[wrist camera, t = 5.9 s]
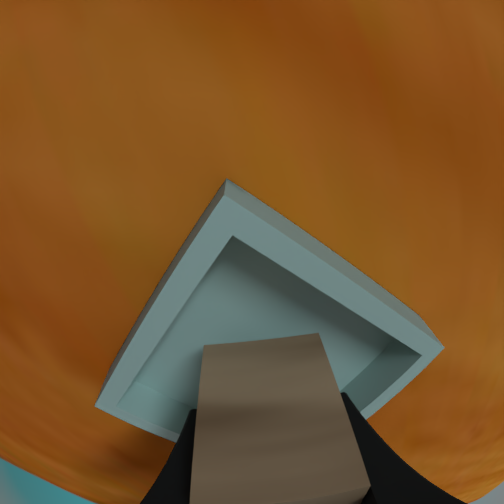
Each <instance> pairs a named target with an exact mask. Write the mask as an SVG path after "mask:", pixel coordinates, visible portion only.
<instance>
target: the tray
mask: <svg viewBox="0 0 504 504" xmlns="http://www.w3.org/2000/svg"><path fill="white" fill-rule="evenodd" d="M313 333H319V335H320V338H321V341H322V343H323V346H324V349H325V352H326V354H327V357H328V360H329V363H330V366H331V368H332V371H333V374H334V377H335V380H336V383H337V385H338V388H339V391H340V393H342V392H345V393H347V395H348V396H349V398H350V399H351V401H352V402H353V403H354V405H355V406H356V408H357V409H358V410H359V412H360V413H361V414H362V416H363V417H364V418H365V419H367V418H369V417H370V416H371V415H372V414H374V413H375V412H376V411H377V410H378V409H380V408H381V407H382V406H383V405H384V404H386V403H387V402H388V401H389V400H390V399H391V398H393V397H394V396H395V395H396V394H397V393H398V392H399V391H401V390H402V389H403V388H404V387H405V386H406V385H407V384H408V383H409V382H410V381H411V380H413V379H414V378H415V377H416V376H417V375H418V374H419V373H420V372H421V371H422V370H423V369H424V368H425V367H426V366H427V365H428V364H429V363H430V362H431V361H432V360H433V359H434V358H435V357H436V356H437V355H438V354H439V353H440V352H441V351H442V350H443V349H444V346H443V345H442V344H441V343H440V341H439V340H438V339H437V337H436V336H435V335H434V334H433V332H432V331H431V330H430V328H429V327H428V326H427V325H426V323H425V322H424V321H423V320H422V319H421V317H420V316H419V315H418V314H416V313H415V312H414V311H413V310H411V309H410V308H409V307H407V306H406V305H405V304H404V303H402V302H401V301H400V300H398V299H397V298H396V297H394V296H393V295H392V294H390V293H389V292H388V291H386V290H385V289H384V288H382V287H381V286H380V285H378V284H377V283H376V282H374V281H373V280H372V279H370V278H369V277H368V276H366V275H365V274H364V273H362V272H361V271H360V270H358V269H357V268H356V267H354V266H353V265H351V264H350V263H349V262H347V261H346V260H345V259H343V258H342V257H340V256H339V255H338V254H336V253H335V252H333V251H332V250H331V249H329V248H328V247H326V246H325V245H324V244H322V243H321V242H319V241H318V240H317V239H315V238H314V237H312V236H311V235H309V234H308V233H307V232H305V231H304V230H302V229H301V228H299V227H298V226H297V225H295V224H294V223H292V222H291V221H289V220H288V219H286V218H285V217H284V216H282V215H281V214H279V213H278V212H276V211H275V210H273V209H272V208H270V207H269V206H267V205H266V204H264V203H263V202H261V201H260V200H258V199H257V198H256V197H254V196H253V195H251V194H250V193H248V192H247V191H245V190H243V189H242V188H240V187H239V186H237V185H236V184H234V183H233V182H231V181H230V180H228V179H226V180H225V181H224V183H223V184H222V186H221V187H220V189H219V190H218V192H217V193H216V195H215V196H214V198H213V199H212V201H211V202H210V204H209V205H208V207H207V208H206V210H205V211H204V213H203V214H202V216H201V217H200V219H199V220H198V222H197V223H196V225H195V226H194V228H193V229H192V231H191V232H190V234H189V236H188V237H187V239H186V240H185V242H184V243H183V245H182V246H181V248H180V250H179V251H178V253H177V254H176V256H175V258H174V259H173V261H172V262H171V264H170V266H169V267H168V269H167V270H166V272H165V274H164V275H163V277H162V279H161V280H160V282H159V283H158V285H157V287H156V288H155V290H154V292H153V293H152V295H151V297H150V298H149V300H148V302H147V303H146V305H145V307H144V309H143V310H142V312H141V314H140V315H139V317H138V319H137V321H136V322H135V324H134V326H133V327H132V329H131V331H130V333H129V334H128V336H127V338H126V340H125V342H124V343H123V345H122V347H121V349H120V350H119V352H118V354H117V356H116V358H115V360H114V361H113V363H112V365H111V367H110V369H109V371H108V373H107V376H106V378H105V381H104V383H103V386H102V388H101V391H100V393H99V396H98V398H97V401H96V404H95V407H97V408H99V409H101V410H103V411H105V412H107V413H109V414H111V415H113V416H115V417H117V418H119V419H121V420H124V421H126V422H128V423H130V424H132V425H134V426H137V427H139V428H141V429H144V430H146V431H148V432H151V433H153V434H155V435H158V436H160V437H163V438H165V439H168V440H171V441H173V442H177V440H178V438H179V436H180V433H181V431H182V429H183V426H184V424H185V421H186V419H187V416H188V413H189V411H190V410H191V409H197V404H198V394H199V384H200V375H201V365H202V356H203V347H204V345H212V344H224V343H235V342H246V341H256V340H265V339H274V338H282V337H290V336H298V335H306V334H313Z"/></svg>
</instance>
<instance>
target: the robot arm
mask: <svg viewBox="0 0 504 504" xmlns="http://www.w3.org/2000/svg"><path fill="white" fill-rule="evenodd" d="M340 394H341V397H342V400H343V403H344V406H345V408H346V411H347V414H348V417H349V420H350V423H351V426H352V429H353V432H354V435H355V438H356V441H357V444H358V447H359V450H360V453H361V456H362V459H363V463H364V466H365V469H366V472H367V475H368V478H369V481H370V485H371V486H370V488H369V489H368V491H367V493H366V495H365V497H364V498H363V500H362V502H361V504H467V503H465V502H463V501H461V500H459V499H457V498H455V497H453V496H451V495H450V494H448V493H447V492H445V491H443V490H442V489H440V488H439V487H437V486H436V485H434V484H432V483H431V482H429V481H428V480H427V479H425V478H424V477H423V476H421V475H420V474H419V473H418V472H416V471H415V470H414V469H413V468H412V467H410V466H409V465H408V464H407V463H406V462H405V461H403V460H402V459H401V458H400V457H399V456H398V455H397V454H396V453H395V452H394V451H393V450H392V449H391V448H390V447H389V446H388V445H387V444H386V443H385V442H384V441H383V439H382V438H381V437H380V436H379V435H378V434H377V433H376V431H375V430H374V429H373V428H372V427H371V426H370V424H369V423H368V422H367V421H366V419H365V418H364V417H363V416H362V414H361V413H360V412H359V410H358V409H357V408H356V406H355V405H354V403H353V402H352V401H351V399H350V398H349V396H348V395H347V393H345V392H342V393H340ZM196 415H197V409H191V410H190V411H189V413H188V416H187V419H186V421H185V424H184V426H183V429H182V431H181V433H180V436H179V438H178V440H177V442H176V444H175V446H174V448H173V450H172V452H171V454H170V456H169V458H168V460H167V462H166V464H165V466H164V467H163V469H162V471H161V473H160V474H159V476H158V478H157V479H156V481H155V483H154V484H153V486H152V487H151V489H150V490H149V492H148V493H147V495H146V496H145V497H144V499H143V500H142V501H141V503H140V504H190V490H191V475H192V462H193V449H194V437H195V426H196Z"/></svg>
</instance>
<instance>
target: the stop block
mask: <svg viewBox="0 0 504 504" xmlns="http://www.w3.org/2000/svg"><path fill="white" fill-rule="evenodd" d="M370 486H371V485H370V481H369V478H368V475H367V472H366V469H365V466H364V463H363V459H362V456H361V453H360V450H359V447H358V444H357V441H356V438H355V435H354V432H353V429H352V426H351V423H350V420H349V417H348V414H347V411H346V408H345V406H344V403H343V400H342V397H341V394H340V391H339V388H338V385H337V383H336V380H335V377H334V374H333V371H332V368H331V366H330V363H329V360H328V357H327V354H326V352H325V349H324V346H323V343H322V341H321V338H320V335H319V333H313V334H306V335H298V336H290V337H282V338H274V339H265V340H256V341H246V342H235V343H224V344H212V345H204V347H203V356H202V365H201V375H200V384H199V394H198V404H197V415H196V426H195V437H194V449H193V462H192V475H191V490H190V504H361V502H362V500H363V498H364V497H365V495H366V493H367V491H368V489H369V488H370Z"/></svg>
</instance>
